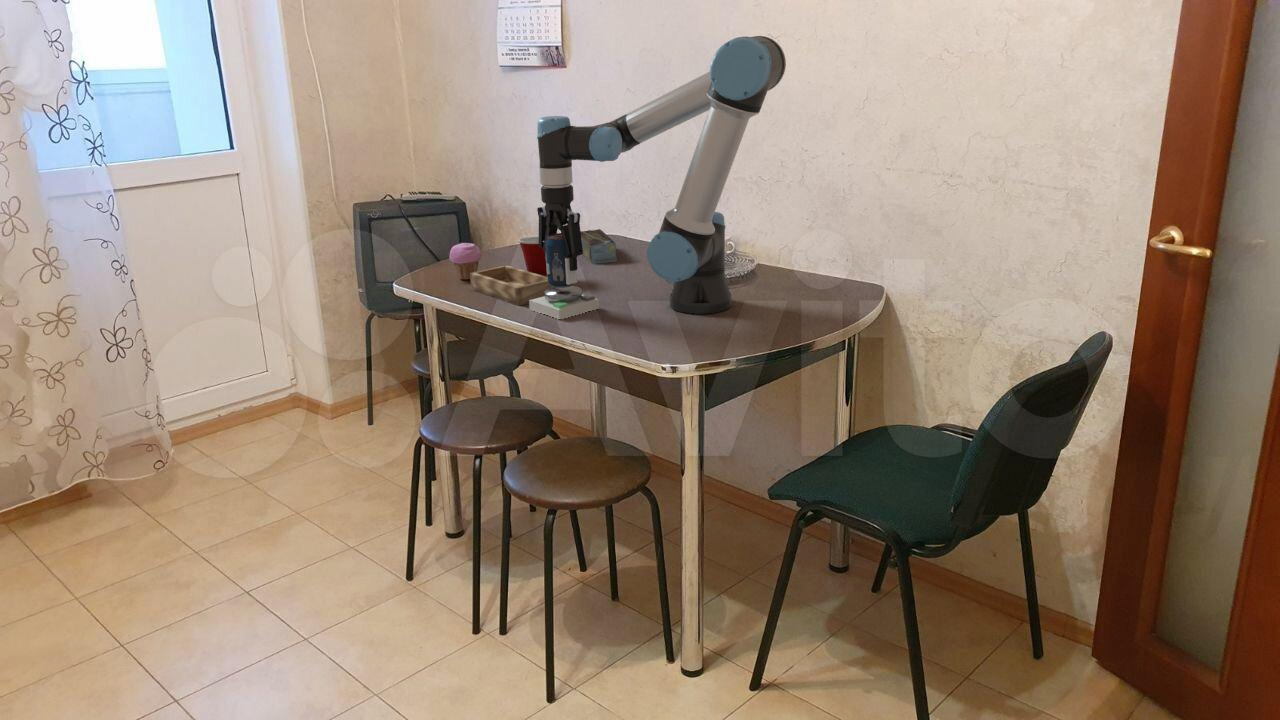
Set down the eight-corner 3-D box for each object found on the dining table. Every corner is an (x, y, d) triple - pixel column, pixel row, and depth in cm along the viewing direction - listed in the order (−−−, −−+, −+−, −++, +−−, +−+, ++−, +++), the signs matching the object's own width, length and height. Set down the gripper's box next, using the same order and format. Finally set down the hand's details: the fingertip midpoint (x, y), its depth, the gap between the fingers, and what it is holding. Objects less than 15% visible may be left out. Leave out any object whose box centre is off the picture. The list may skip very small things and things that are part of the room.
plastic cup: (564, 275, 258) (561, 233, 254) (557, 286, 248) (554, 242, 244) (525, 276, 259) (522, 233, 255) (517, 286, 249) (513, 242, 245)
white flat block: (598, 309, 228) (598, 296, 226) (559, 320, 220) (558, 306, 219) (568, 299, 236) (567, 287, 235) (529, 310, 229) (528, 297, 227)
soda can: (571, 279, 230) (569, 231, 226) (580, 286, 224) (577, 237, 220) (544, 282, 228) (541, 234, 224) (552, 289, 222) (549, 240, 218)
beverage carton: (590, 265, 270) (589, 242, 267) (576, 251, 287) (575, 229, 285) (617, 262, 272) (616, 240, 269) (602, 248, 289) (601, 227, 287)
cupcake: (483, 281, 256) (480, 245, 252) (451, 283, 254) (447, 247, 251) (483, 273, 264) (480, 238, 260) (452, 275, 263) (448, 240, 259)
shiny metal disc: (589, 296, 227) (589, 290, 226) (559, 304, 221) (559, 298, 220) (566, 289, 233) (566, 283, 232) (537, 296, 227) (537, 291, 227)
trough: (555, 296, 239) (554, 279, 238) (518, 305, 232) (517, 288, 231) (507, 281, 255) (506, 265, 253) (471, 289, 248) (469, 273, 246)
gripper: (596, 187, 213) (600, 284, 221) (544, 178, 227) (550, 270, 235) (570, 192, 208) (575, 291, 216) (519, 182, 222) (525, 276, 230)
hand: (562, 280), depth 226 cm, fingers closed on soda can, 7 cm apart
